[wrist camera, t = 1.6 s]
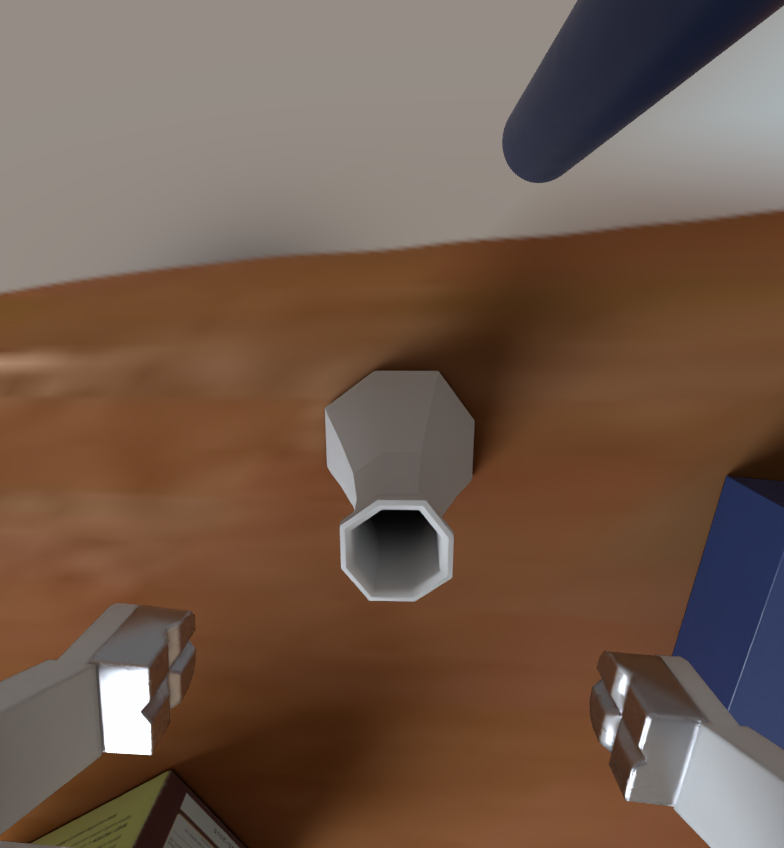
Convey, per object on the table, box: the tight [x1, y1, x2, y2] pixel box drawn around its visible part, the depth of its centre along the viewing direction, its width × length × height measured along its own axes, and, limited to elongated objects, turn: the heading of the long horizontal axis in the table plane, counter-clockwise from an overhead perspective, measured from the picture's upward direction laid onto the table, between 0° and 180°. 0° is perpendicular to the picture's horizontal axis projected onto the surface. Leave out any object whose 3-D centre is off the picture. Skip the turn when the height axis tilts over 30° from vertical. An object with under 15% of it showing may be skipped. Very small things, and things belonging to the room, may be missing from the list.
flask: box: [325, 371, 475, 601], centre depth 18 cm, size 7×7×10 cm
